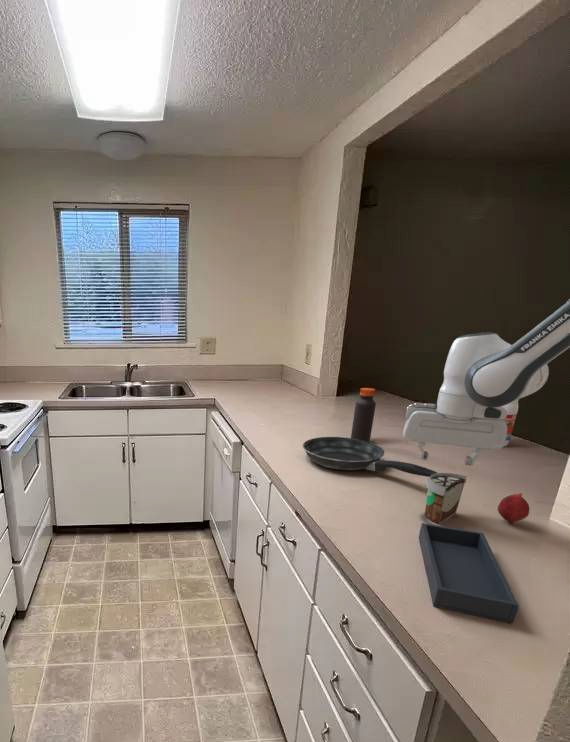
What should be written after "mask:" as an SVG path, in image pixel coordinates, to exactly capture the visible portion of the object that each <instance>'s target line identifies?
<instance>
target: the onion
mask: <svg viewBox="0 0 570 742" xmlns="http://www.w3.org/2000/svg"><path fill="white" fill-rule="evenodd" d="M497 511H498V514H499V515H500V516H501V518H503V519H504V520H505V521H506V522H508V523H509V524H513V523H516V522H519V521H523V520H524V519H526V518H527V517H528V516H529V514H530V504H529V502H528V501H527V500H526V499H525V498H524V497H523V493H522V492H520V491H518V492H515V493H514V494H510V495H507V496H505V497H503V498H502V499H501V500H500V502H499V503H498V505H497Z"/></svg>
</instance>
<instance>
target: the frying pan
mask: <svg viewBox="0 0 570 742" xmlns="http://www.w3.org/2000/svg"><path fill="white" fill-rule="evenodd" d="M302 448H303V450H304V451H305V453H306V456H307V457H308V458H309V459H310V460H311V461H313V463H315V464H317V465H319V466H322V467H325V468H327V469H328V468H329V469H331V470H339V471H360V470H367V471H374V472H375V473H382V472H385V471H386V470H387V469H388V468H389V469H395V470H397V471H400V472H404V473H406V474H411V475H416V476H421V477H428V478H429V477H430V476H431V475H432V474H436V473H438V471H436V470H433V469H430V468H427V467H426V466H421V465H419V464H415V463H412V462H411V463H410V462H406V461H405V462H404V461H399V460H384V459H381V458H382V457H384V456H385V450H384V449H383V448H382V447H380V446H379V445H377V444H374V443H372V442H371V441H370V442H366V441H363V440H358V439H352V438H351V437H342V436H321V437H315V438H310V439H307V440H305V441H304V442H303V443H302ZM380 459H381V460H380Z"/></svg>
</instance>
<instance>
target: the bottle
mask: <svg viewBox="0 0 570 742" xmlns="http://www.w3.org/2000/svg"><path fill="white" fill-rule="evenodd" d="M359 390H360V391H359V397H360V398H359V399H357V400H356V401H355V406H354V412H353V420H352V426H351V432H350V433H351V434H350V438H352V439H358V440H363V441H366V442H370V443H371V437H372V431H373V424H374V417H375V412H376V406H377V403H376V401H375V400H374V398H375V394H376V388H371V387H361V388H360V389H359Z"/></svg>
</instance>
